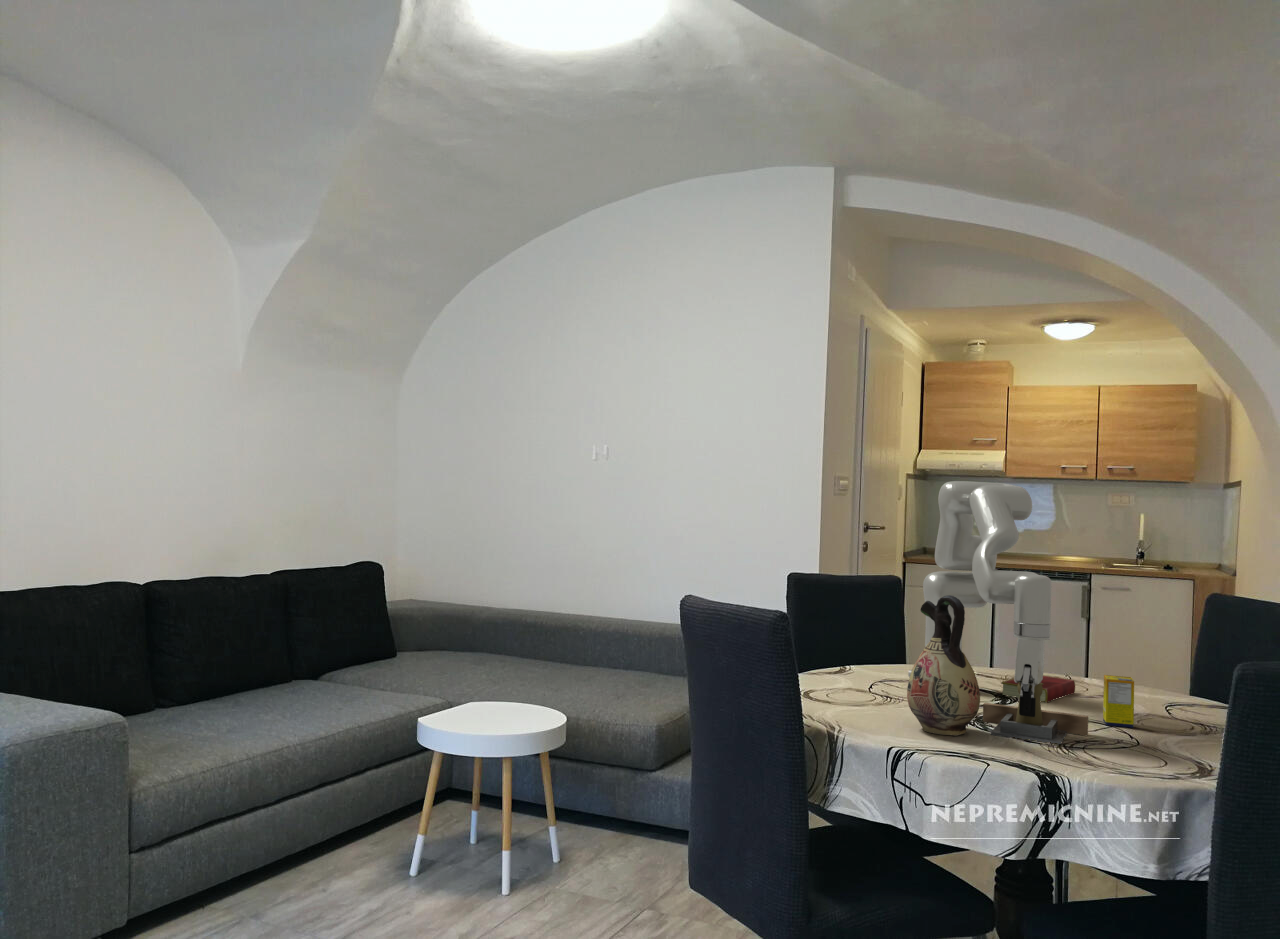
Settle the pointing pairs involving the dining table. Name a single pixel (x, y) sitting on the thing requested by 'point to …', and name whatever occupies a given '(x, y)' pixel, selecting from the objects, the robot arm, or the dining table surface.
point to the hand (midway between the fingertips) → (1029, 712)
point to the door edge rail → (1065, 720)
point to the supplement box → (1118, 701)
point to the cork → (1038, 714)
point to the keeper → (1029, 730)
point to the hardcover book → (1044, 688)
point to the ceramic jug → (944, 675)
